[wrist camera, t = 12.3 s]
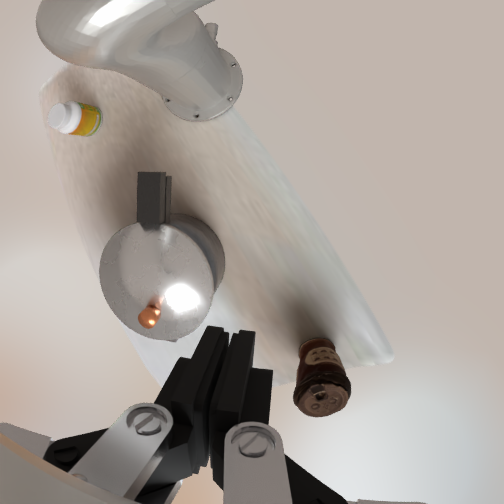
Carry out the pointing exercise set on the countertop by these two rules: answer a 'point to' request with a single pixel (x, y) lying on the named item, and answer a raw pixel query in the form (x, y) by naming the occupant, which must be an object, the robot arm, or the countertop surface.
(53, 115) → the supplement bottle
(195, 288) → the cooker lid
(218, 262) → the cooker pot
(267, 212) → the countertop surface
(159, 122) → the countertop surface
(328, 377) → the coffee cup
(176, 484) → the robot arm
